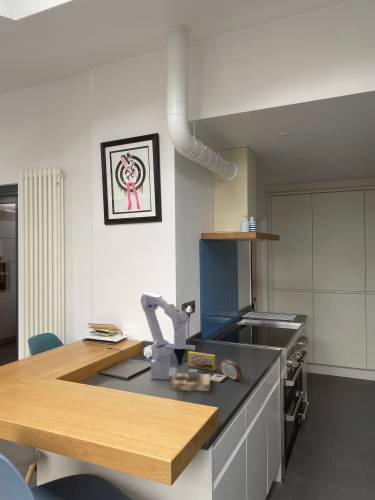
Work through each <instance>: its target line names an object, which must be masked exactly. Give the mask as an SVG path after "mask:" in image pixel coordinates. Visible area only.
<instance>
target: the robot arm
mask: <svg viewBox="0 0 375 500" xmlns="http://www.w3.org/2000/svg"><path fill="white" fill-rule="evenodd" d="M140 303H141V306H142V307H141V308H142V310H143V312H144V314H145V317H146V321H147V324H148V325H147V326H148V328H149V331H150V334H151V336H152V340H153V344H152V345H151V347H150V349H151V356H152V358H153V359H152V358H151V362H150V379H151V380H152V379H153V380H169V379H170V378H171V375H172V373H171V372H170V360H171V357H173V354H174V355H175V358H176V359H177V364H178V366H182V365H183V358H184V356H185V353H186V352H187V351H195V350H196V345H193V344H187V343H186V342H187V341H186V340H187V322H188V321H189V315H188V313H187V312H186V311H185V310H180V309H179V308H178V307H176V306H175V304H173V303H168V302H167V301H166V300H165V299H164V298H163V297H162V293H160V292H157V291H156V292H153V293H152V292H151V293H142V295H141V298H140ZM158 308H160V309H162V310H164V314H165V315H166V316H168V317H169V318H170V319H171V322H172V327H173V344H170V342H169V341H168V340H166V339H164V335H163V332H162V329H161V326H160V324H159V321H158V317H157V314H156V310H157V309H158Z"/></svg>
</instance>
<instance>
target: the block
mask: <svg viewBox="0 0 375 500" xmlns="http://www.w3.org/2000/svg"><path fill="white" fill-rule="evenodd" d="M197 373H198V368H196V369H195V368H189V369H188V372H187V374H188V377H189V378H197Z"/></svg>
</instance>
